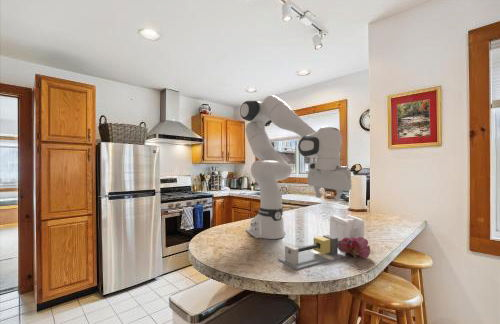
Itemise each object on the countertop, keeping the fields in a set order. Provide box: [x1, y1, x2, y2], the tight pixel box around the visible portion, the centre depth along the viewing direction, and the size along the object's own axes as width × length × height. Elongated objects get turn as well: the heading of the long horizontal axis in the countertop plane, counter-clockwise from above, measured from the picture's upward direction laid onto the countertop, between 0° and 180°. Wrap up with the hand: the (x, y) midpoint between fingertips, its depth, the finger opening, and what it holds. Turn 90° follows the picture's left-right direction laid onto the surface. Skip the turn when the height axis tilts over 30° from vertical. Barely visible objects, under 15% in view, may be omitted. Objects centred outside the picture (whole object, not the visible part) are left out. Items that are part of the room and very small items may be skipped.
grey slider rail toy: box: [278, 234, 345, 271], centre depth 94 cm, size 10×25×7 cm, turn 122°
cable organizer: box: [329, 214, 365, 242], centre depth 117 cm, size 15×11×12 cm
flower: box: [338, 237, 371, 261], centre depth 97 cm, size 11×10×10 cm
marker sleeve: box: [312, 235, 330, 254], centre depth 97 cm, size 5×4×5 cm
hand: (327, 199), depth 100 cm, fingers open, 8 cm apart
